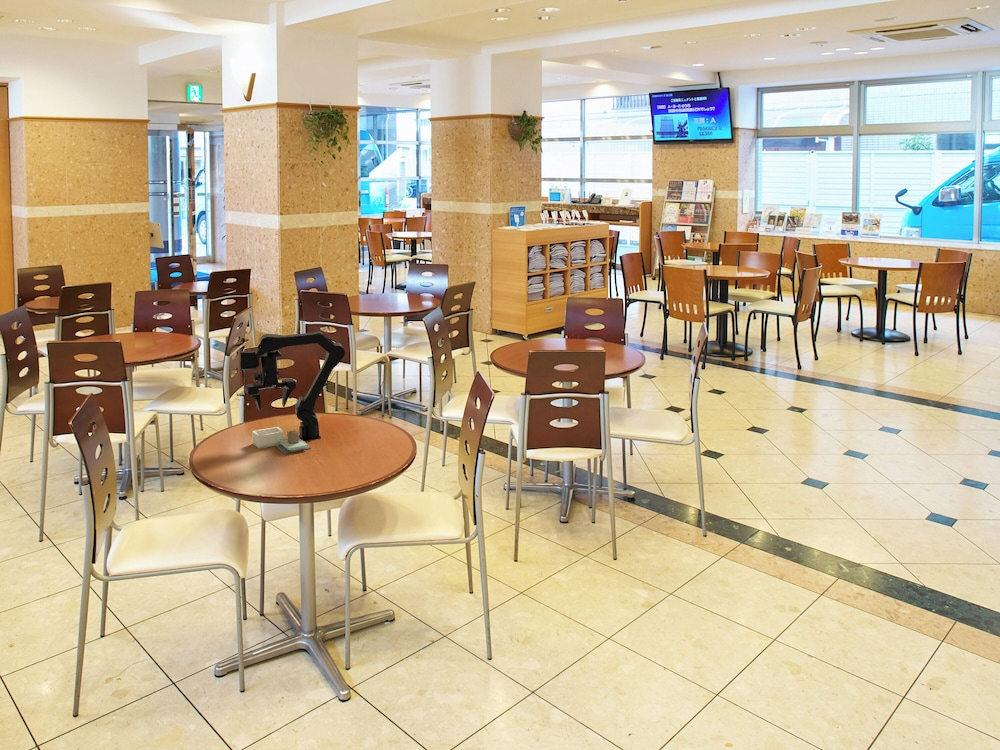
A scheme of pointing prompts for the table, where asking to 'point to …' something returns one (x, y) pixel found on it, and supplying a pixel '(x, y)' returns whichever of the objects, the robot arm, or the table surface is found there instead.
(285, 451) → the mat
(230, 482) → the table surface
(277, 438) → the caddy
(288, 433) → the lid
